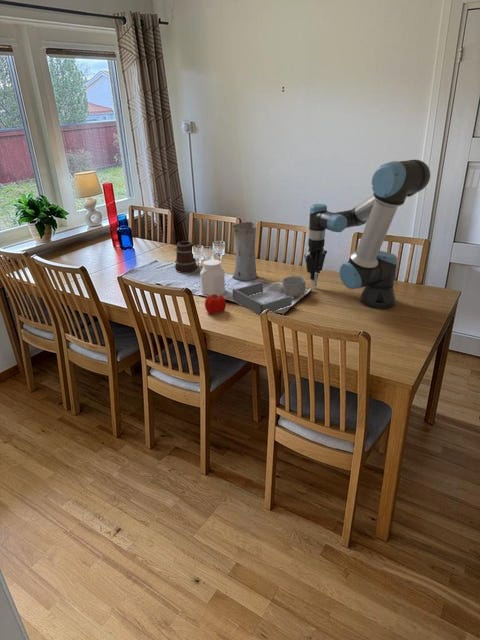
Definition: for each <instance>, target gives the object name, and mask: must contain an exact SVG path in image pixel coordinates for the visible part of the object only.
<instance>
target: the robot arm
mask: <svg viewBox="0 0 480 640" xmlns="http://www.w3.org/2000/svg"><path fill="white" fill-rule="evenodd" d="M430 180H431V170H430V168H429V166H428V165H427V163H425V161H422V160H420V159H409V160H408V159H407V160H401V161H397V160H395V161H394V160H393V161H390V162H386V163H382V164H381V165H379V166H378V167H377V168H376V170H375V171H374V173H373V174H372V178H371V188H372V191H373V193H372V195H371V196H370V197H368V198H367V199H365V200H364V201H362V202H361V203H359V204H357V205H356V206H355V207H354V208H352V209H348V210H343V211H336V212H332V211H328V206H327V205H326V204H323V203H314V204H311V206H310V210H309V222H308V223H309V225H308V243H307V246H308V251H307V253H305V254H303V256H304V259H305V263H306V264H305V265H306V271H307V273H309V274H310V285H311V286H313V287H317V286H318V278H319V274H320V273H321V271H322V270H323V266H324V262H325V258H326V256H327V253H328V251H327V250H325V249H324V247H325V241H326V240H325V237H326V230H329V231H330V232H333V233H342V232H343V231H344V230H345V229H349V228H353V227H359V226H363V225H365V227H364V229H363V231H362V234H361V237H360V240H359V243H358V245H357V248H356V250H355V251H353V252H351V254H350V256H349V259H348V261H347V262H346V261H345V262H344V263H342V264H341V265H340V267H339V277H340V280H341V282H342V284H343V285H344V286H345V287H346V288H348V289H349V290H355V289H360V288H364V289H363V291H362V293H361V294H360V303H361V305H364V306H365V307H368V308H372V309H379V310H382V309H391V308H394V306H395V305H396V295H395V289H394V285H395V279H396V273H397V266H398V257H397V255H396V254H394V253H391V252H387V251H383V250H381V248H382V245H383V244H384V240H385V239H386V236H387V234H388V231H389V229H390V227H391V225H392V221H393V219H394V216H395V215H396V212H397V210H398V207H401V206H403V205H404V204H405V202H406V199H407V198H410V197H413V196H414V195H416V194H417V193H419V192H421V191H422V190H425V188H426V187H427V186H428V184H429V182H430Z"/></svg>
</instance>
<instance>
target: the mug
mask: <svg viewBox="0 0 480 640" xmlns="http://www.w3.org/2000/svg"><path fill="white" fill-rule="evenodd" d="M194 245H195V244H194V243H193V242H192V241H188V240H184V241H183V240H182V241H178V242H177V243H176V248H175V249H174V251H175V252H176V258H175V261H174V262H175V266H174V268H175V269H176V270H177V271H180V272H179V273H182V272H188V273H193V272H196V271H197V270H198V264H197V263H196V262H197V259H196V258H195V259H196V260H195V259H194V258H193V254H192V246H194ZM175 269H174V270H175ZM176 270H175V271H176ZM195 270H196V271H195ZM177 271H176V272H177ZM192 271H193V272H192Z"/></svg>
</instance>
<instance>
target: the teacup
mask: <svg viewBox="0 0 480 640" xmlns="http://www.w3.org/2000/svg"><path fill="white" fill-rule="evenodd" d="M281 282H282V291H283V294H284V295H285V296H286V297H287V296H290V295H291V296H292V297H293V298H292V299H296V298H295V297H298V298H300V297H302V296H303V295H304V294H305V292H306V278H304V277H302V276H299V275H296V276H295V275H293V274H291V275H290V276H286V277H284V278H283V279H282V280H281Z"/></svg>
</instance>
